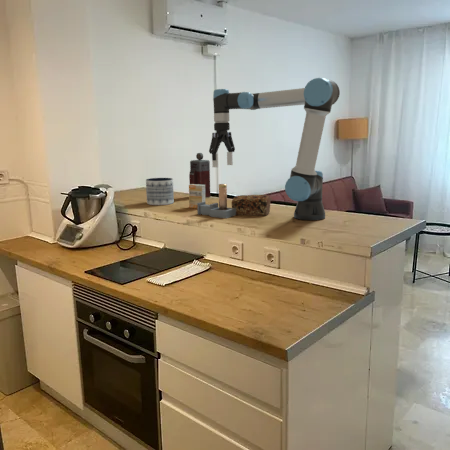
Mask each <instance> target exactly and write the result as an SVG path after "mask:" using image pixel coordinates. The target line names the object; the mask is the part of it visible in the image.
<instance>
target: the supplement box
mask: <svg viewBox="0 0 450 450" xmlns="http://www.w3.org/2000/svg"><path fill="white" fill-rule="evenodd" d="M201 202H206V197H205V185H199V184H190V183H189V184H188V203H189V204H188V205H189V206H188V208H189V209H197V203H201Z"/></svg>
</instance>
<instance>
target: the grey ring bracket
mask: <svg viewBox="0 0 450 450" xmlns="http://www.w3.org/2000/svg"><path fill="white" fill-rule="evenodd" d="M196 209H197V215H201V214H202V215H203V216H209V217H211V218H219V219H229V218H231V217H234V216H236V208H232V207H228V206H227V210H219V202H214V203H210V204H207V203H206V201H205V202H201V203H197V208H196ZM202 215H201V216H202Z"/></svg>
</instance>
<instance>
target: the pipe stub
mask: <svg viewBox="0 0 450 450" xmlns="http://www.w3.org/2000/svg"><path fill="white" fill-rule="evenodd" d="M227 187H228V184H227V183H219V184H218V207H219V210H227V207H228V197H227V196H228V191H227V190H228V188H227Z"/></svg>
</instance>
